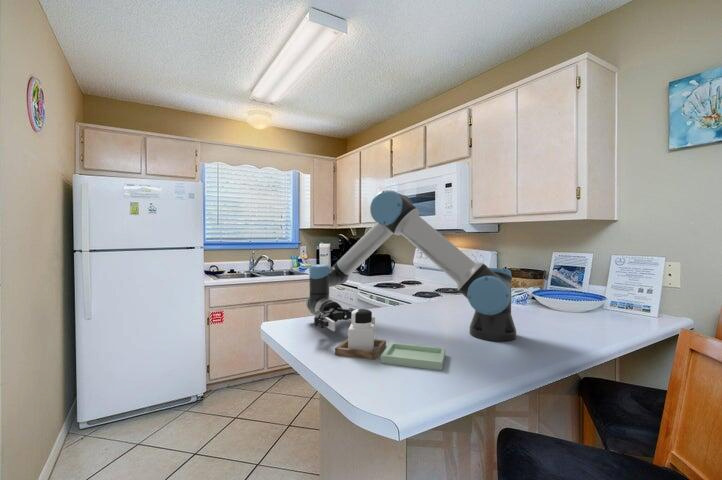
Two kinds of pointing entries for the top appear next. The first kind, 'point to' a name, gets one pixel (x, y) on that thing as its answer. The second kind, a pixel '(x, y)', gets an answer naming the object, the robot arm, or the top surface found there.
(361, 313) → the medicine bottle
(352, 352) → the frame
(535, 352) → the top surface
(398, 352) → the tray
